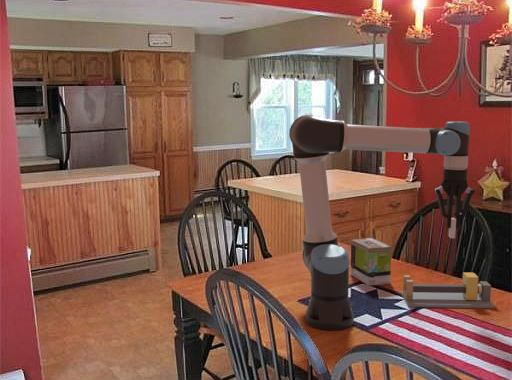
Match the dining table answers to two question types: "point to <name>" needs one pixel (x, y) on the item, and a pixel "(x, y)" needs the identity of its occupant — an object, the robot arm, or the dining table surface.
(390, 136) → the robot arm
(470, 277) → the sleeve
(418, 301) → the grey slider rail
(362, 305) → the dining table surface
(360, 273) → the tea box
